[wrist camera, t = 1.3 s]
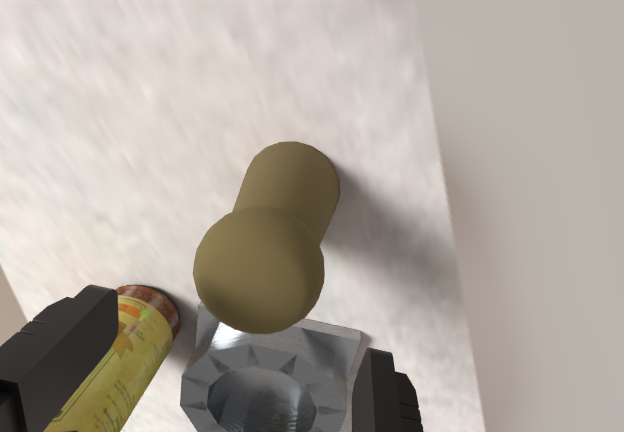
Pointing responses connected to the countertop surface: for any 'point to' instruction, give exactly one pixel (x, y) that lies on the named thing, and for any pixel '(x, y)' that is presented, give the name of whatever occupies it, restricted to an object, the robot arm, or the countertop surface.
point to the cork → (270, 242)
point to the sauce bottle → (123, 364)
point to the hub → (268, 377)
